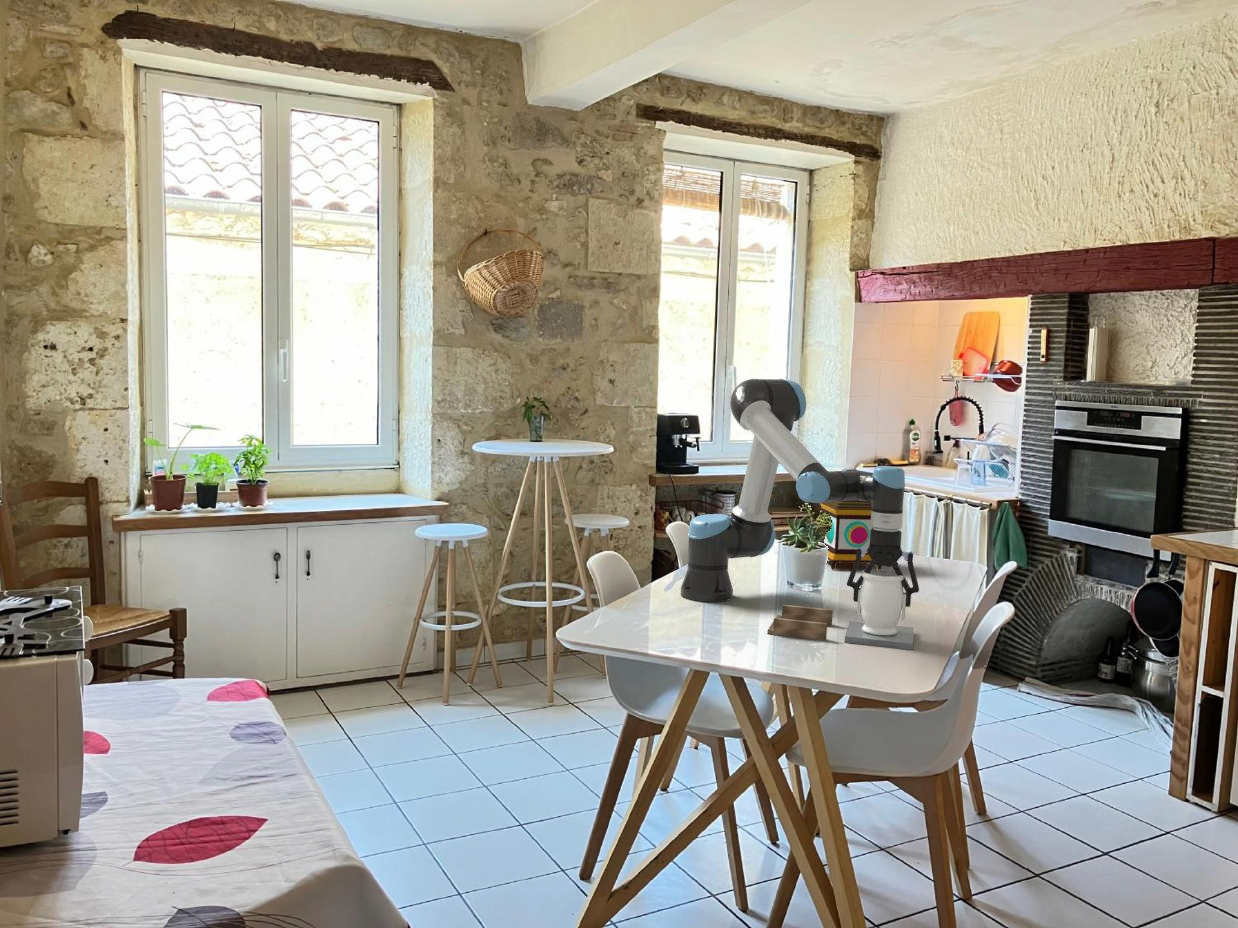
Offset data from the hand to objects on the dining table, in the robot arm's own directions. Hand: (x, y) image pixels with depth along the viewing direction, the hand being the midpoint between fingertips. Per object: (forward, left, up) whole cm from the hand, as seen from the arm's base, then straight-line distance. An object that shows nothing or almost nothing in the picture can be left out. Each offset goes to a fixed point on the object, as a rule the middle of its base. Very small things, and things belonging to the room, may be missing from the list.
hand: (880, 616), depth 246 cm
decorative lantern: (-15, +92, -6) cm, 93 cm away
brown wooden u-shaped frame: (-19, 0, -5) cm, 20 cm away
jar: (0, 0, -4) cm, 4 cm away
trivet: (0, 0, -5) cm, 5 cm away
